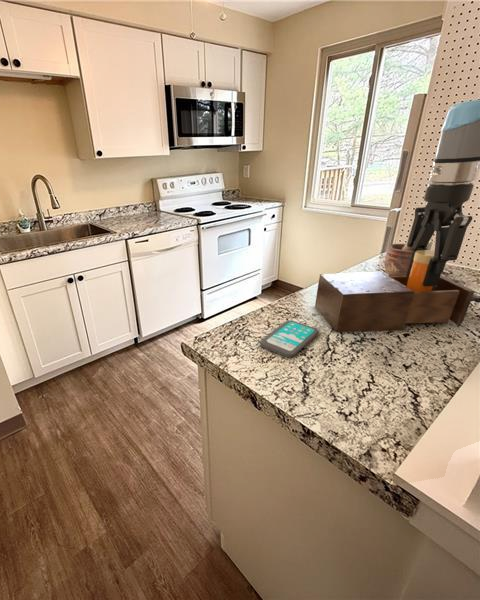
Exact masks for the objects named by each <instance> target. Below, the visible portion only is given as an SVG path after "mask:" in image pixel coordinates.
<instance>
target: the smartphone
mask: <svg viewBox="0 0 480 600" xmlns="http://www.w3.org/2000/svg"><path fill="white" fill-rule="evenodd" d="M318 334H319V329H318V328H317V327H313V326H310V325H307V324H304V323H301V322H297V321H295V320H285V322H283V323H282V324H280V326H278V327H277V328H275V329H274V330H273V331H271V332H270V333H269V334H267V335H266V336H265V337H264V338H263V339H262V340H261V341H260V346H261V347H262V348H264V349H266V350H268V351H271V352H274V353H276V354H279V355H281V356H283V357H286V358H293V357H294V356H296V355H297V354H298V353H299V352H300V351H301V350H303V348H304V347H306V346H307V345H308V344H309V343H310V342H312V340H314V339H315V338H316V336H318Z"/></svg>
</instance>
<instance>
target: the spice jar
mask: <svg viewBox="0 0 480 600" xmlns="http://www.w3.org/2000/svg"><path fill="white" fill-rule="evenodd" d="M434 252H435V250H432V249H430V250H418V251H416V252H415V255H414V259H413V260H414V261H413V264H412V268H411V271H410V275H409V279H408V282H407V287H408V288H410V289H412V290H413V291H415V292H421V291H432V289H433V286H423V282H424V279H425V275H426V272H427V269H428V265H429V262H430V259H434ZM441 256H442V255H441Z"/></svg>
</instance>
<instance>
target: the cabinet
mask: <svg viewBox="0 0 480 600" xmlns="http://www.w3.org/2000/svg"><path fill="white" fill-rule="evenodd" d="M414 292H415V291H413V290H412V289H410V288H408V287H407V286H405V285H403V284H401V283H400V282H398V281H396V280H395V279H393V278H391V277H389V274H386V273H385V272H383V271H381V270H376V271H359V272H355V271H354V272H337V273H321V274H319V277H318V283H317V291H316V296H315V301H314V302H315V303H314V309H315V310H316V311H317V313H318V314H319V315H320V316H321V317H322V319H324V321H325V322H326V323H327V324H328V325H329V326H330V327H331V328H332V330H333V331H334V332H335V333H351V332H353V333H354V332H357V333H358V332H385V331H392V332H393V331H404V328H405V325H406V323H405V322H406V319H407V316H408V312H409V309H410V306H411V302H412V299H413V296H414Z"/></svg>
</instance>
